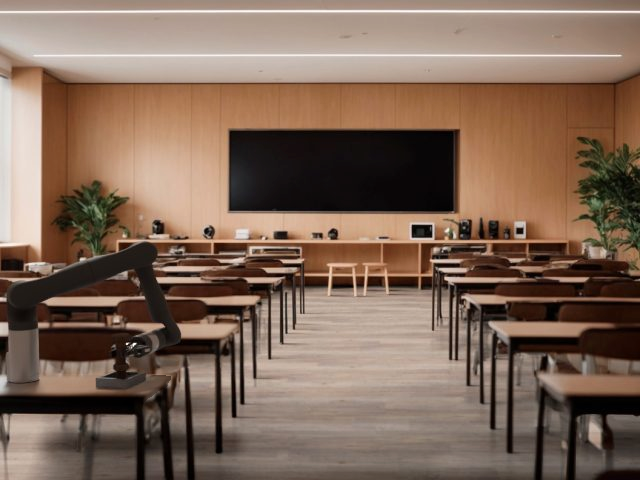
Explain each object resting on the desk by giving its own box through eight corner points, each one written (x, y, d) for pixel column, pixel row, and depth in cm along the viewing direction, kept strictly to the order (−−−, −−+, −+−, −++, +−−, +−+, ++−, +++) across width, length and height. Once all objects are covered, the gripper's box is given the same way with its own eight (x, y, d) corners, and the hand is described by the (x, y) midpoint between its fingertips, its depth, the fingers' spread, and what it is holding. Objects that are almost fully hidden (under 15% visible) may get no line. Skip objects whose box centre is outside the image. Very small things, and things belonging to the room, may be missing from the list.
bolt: (124, 382, 225) (123, 336, 224) (109, 382, 226) (108, 335, 225) (132, 378, 231) (131, 333, 230) (118, 378, 232) (117, 332, 231)
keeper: (95, 387, 224) (95, 377, 224) (115, 379, 235) (115, 370, 235) (127, 389, 221) (127, 379, 221) (146, 381, 232) (145, 372, 232)
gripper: (125, 333, 244) (96, 342, 227) (161, 334, 240) (135, 343, 223) (125, 354, 244) (96, 365, 227) (162, 356, 240) (135, 367, 223)
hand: (116, 354), depth 225 cm, fingers closed on bolt, 3 cm apart
